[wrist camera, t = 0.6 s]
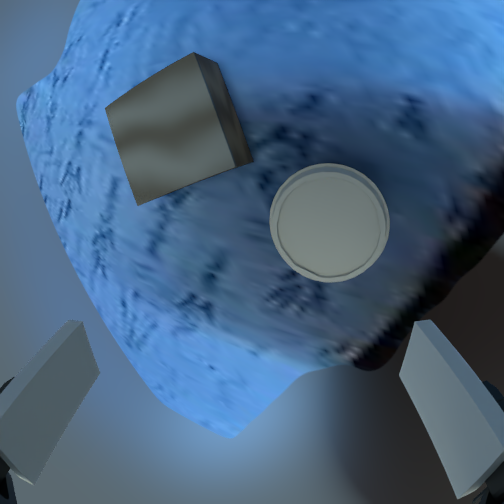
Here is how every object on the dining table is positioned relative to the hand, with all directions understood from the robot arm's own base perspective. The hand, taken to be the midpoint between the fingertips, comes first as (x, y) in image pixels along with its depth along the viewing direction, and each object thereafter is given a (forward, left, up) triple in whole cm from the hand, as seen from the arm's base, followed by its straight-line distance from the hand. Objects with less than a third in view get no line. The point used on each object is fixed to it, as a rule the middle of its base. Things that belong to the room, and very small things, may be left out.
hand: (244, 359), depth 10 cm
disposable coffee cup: (0, +2, -26) cm, 26 cm away
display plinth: (-13, -12, -25) cm, 31 cm away
